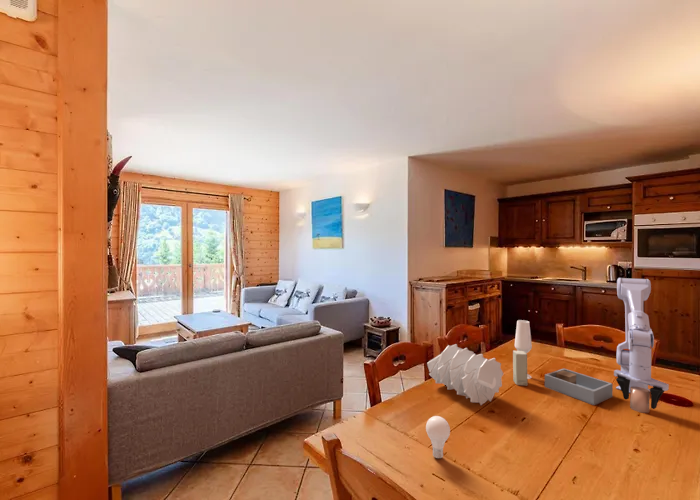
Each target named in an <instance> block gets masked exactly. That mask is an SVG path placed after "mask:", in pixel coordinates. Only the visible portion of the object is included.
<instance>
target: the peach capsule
mask: <svg viewBox="0 0 700 500" xmlns="http://www.w3.org/2000/svg"><path fill="white" fill-rule="evenodd" d="M629 399H630V401H629V403H630V404H629V406H630V409H631V410H633V411H635V412H638V413H643V414H648V413H650V392H649V390H647V389H645V388H641V387H636V386H632V387H630V393H629Z"/></svg>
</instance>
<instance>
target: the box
mask: <svg viewBox="0 0 700 500" xmlns="http://www.w3.org/2000/svg"><path fill="white" fill-rule="evenodd" d="M512 374H513V375H512V378H513V379H512V380H513V382H514V384H516V385H517V386H528V379H527V374H528V353H525V352H524V351H518V350H512Z"/></svg>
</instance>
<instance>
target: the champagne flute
mask: <svg viewBox="0 0 700 500" xmlns="http://www.w3.org/2000/svg"><path fill="white" fill-rule="evenodd" d="M515 328H516V329H515V338H514V348H515V349H516V351H524V352H525V353H526V354H528V353H529V352H530V351H531V350H532V347H533V346H532V335H531V327H530V321H528V320H525V319H523V320H522V319H518V320H517V321H516V327H515ZM532 378H533V377H532V376H531V375H530V374H528V373H527V380H530V379H532Z"/></svg>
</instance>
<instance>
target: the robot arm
mask: <svg viewBox="0 0 700 500" xmlns="http://www.w3.org/2000/svg"><path fill="white" fill-rule="evenodd" d="M651 286H652V284H651V280H649V279H648V278H646V279H645V278H629V277H628V278H627V277H626V278H625V277H618V278H617V280H616V292H617V294H616V295H617V298H618V299H619V300H622V301H623V304H624V312H625V313H624V318H625V322H624V323H625V325H624V326H625V327H624V328H625V329H624V330H625V332H624V333H625V341H623V342H621V343H618V345H617V346H616V356H615V357H616V364H617V365H618V366H620V370H619V369H614V370H613V376H614V377H616V378H615V381H616V382H617V384H618V386H616V387H615V389H616V390H620V391H621V392H622V397H623V400H628V399H630V387H632V386H636V387H641V388H645V389H647V390H649V393H650V399H651V400H650V408H651V409H653V410H656V408H657V406H658V402H659V401H660V398H661V397H662V396H663V394H664V393H665V392H667V391H668V390H669V387H670V385H669V383H666V382H664V381H660V380H657V379H655V378H653V377H652V349H653V348H654V345H655V337H654V332H653V331H652V330H653V329H652V328H651V327H650V319H649V315H648V314H647V313H645V312H644V302H645V301H647V300H648V298H649V296H650V294H651V292H652V291H651V290H652V287H651ZM649 386H650V387H651V388H649Z"/></svg>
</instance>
